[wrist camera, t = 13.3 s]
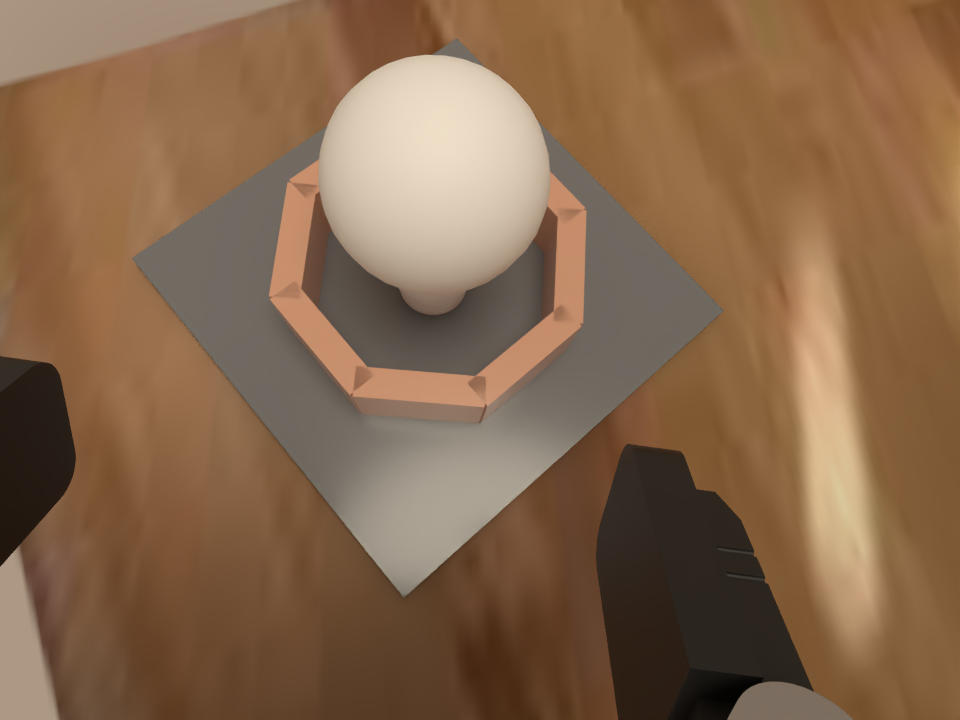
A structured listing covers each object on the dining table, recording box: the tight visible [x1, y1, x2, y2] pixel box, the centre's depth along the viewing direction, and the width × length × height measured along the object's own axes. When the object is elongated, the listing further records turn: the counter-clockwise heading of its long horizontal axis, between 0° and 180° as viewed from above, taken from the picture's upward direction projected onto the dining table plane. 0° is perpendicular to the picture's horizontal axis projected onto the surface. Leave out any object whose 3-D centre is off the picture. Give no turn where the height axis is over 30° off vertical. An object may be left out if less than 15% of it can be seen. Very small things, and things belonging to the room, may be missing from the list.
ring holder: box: [132, 39, 724, 597], centre depth 25 cm, size 16×16×4 cm
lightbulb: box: [318, 55, 550, 315], centre depth 20 cm, size 6×6×11 cm
